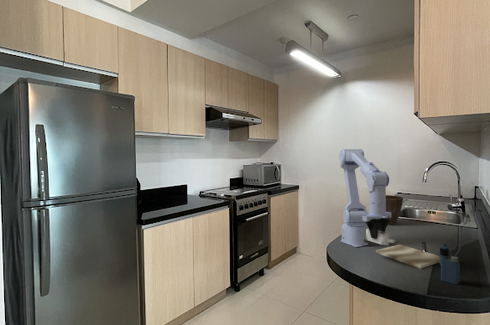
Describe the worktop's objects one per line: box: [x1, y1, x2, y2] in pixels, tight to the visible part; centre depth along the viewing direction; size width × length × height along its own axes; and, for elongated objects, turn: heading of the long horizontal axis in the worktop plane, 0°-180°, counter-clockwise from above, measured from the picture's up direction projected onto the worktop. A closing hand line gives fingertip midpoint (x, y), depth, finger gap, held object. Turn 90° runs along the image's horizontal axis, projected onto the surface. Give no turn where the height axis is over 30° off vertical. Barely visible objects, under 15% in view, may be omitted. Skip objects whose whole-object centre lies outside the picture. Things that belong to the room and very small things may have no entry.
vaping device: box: [439, 242, 461, 285], centre depth 87 cm, size 3×5×12 cm, turn 51°
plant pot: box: [386, 194, 404, 226], centre depth 160 cm, size 15×15×16 cm
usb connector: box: [365, 228, 396, 246], centre depth 104 cm, size 11×3×4 cm, turn 27°
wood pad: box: [375, 244, 440, 269], centre depth 108 cm, size 18×16×1 cm
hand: (377, 237), depth 105 cm, fingers closed on usb connector, 3 cm apart
